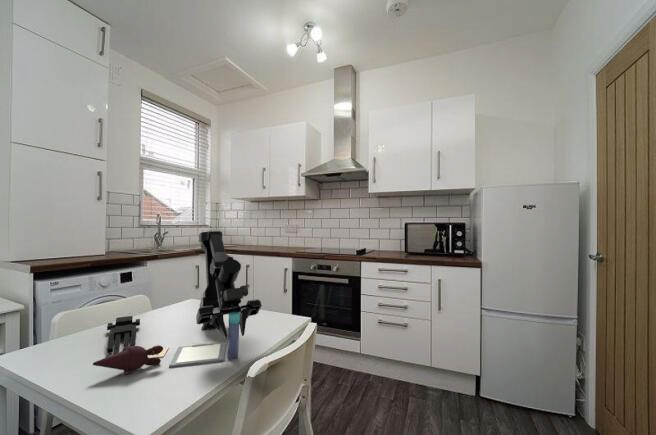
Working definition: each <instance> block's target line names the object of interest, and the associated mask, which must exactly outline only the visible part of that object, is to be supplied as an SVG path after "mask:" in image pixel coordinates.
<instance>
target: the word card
mask: <svg viewBox="0 0 656 435" xmlns="http://www.w3.org/2000/svg"><path fill="white" fill-rule="evenodd" d="M168 350H169V347H163V351H162V352H161V353H159V354H156V355H148V358H154V357H155V358H159V359H161V358H164V357H165V355H166V354H167V353H168Z"/></svg>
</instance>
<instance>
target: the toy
mask: <svg viewBox="0 0 656 435" xmlns="http://www.w3.org/2000/svg"><path fill="white" fill-rule="evenodd" d="M133 318H134V317H133V315H129V316H128V315H126V316H120V317H116V318H115V324H113V323H114V322H108V323H107V326H106V331H109V334H108V340H107V354H110V353H112V355H114V354H117V353H119V352H120V348H121V347H120V346H121V340H123V346H122V351H124V350H127V348H128V347H129V346H130V345H131V346H136V339H137V327H138V326H140V325H141V319H140V318H136V319H135V321H133Z"/></svg>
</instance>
